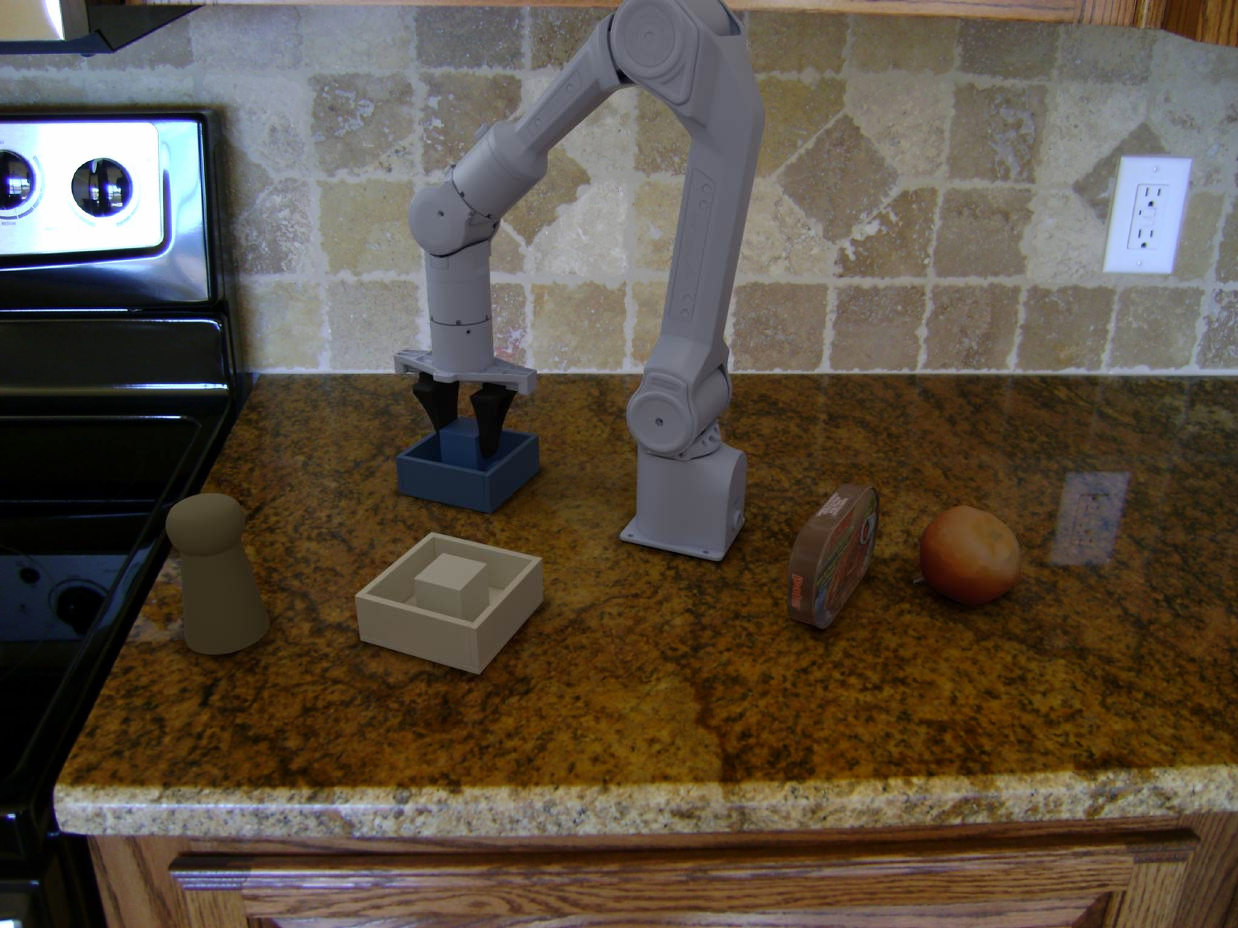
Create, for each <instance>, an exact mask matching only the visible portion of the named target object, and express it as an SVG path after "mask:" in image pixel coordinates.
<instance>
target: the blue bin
mask: <svg viewBox="0 0 1238 928" xmlns="http://www.w3.org/2000/svg"><path fill="white" fill-rule="evenodd" d="M497 456H498V459H497V460H496V461H494V462H493V463H492V464H491V465H489V466H488V467H487V468H486V469H484V470H483V471H477V470H472V469H467V468H463V467H458V466H453V465H448V464H443V463H442V457H441V445H440V442H439V440H438V437H437V434H436V431H435V430H433V431H432V432H430V433H429V434H427V435H426V436H425V437H423V438H421V439H420V440H418V441H417V442H415V443H414V444H412V445H411V446H409V447H408V448H407V449H405V450H404V451H402V452H400V453H399V454H397V455H396V456H395V464H396V474H397V484H398V494H399V495H405V496H409V497H414V498H418V499H423V500H427V501H432V502H436V503H440V504H445V505H450V506H454V507H459V508H464V509H468V510H472V511H476V512H480V513H486V514H490V515H491V514H492V513H493V512H494V511H496V510H497V509H498V508H499V507H500V506H501V505H502V504H503V503H505V502H506V501H507V500H508V499H509V498H510V497H512V496H513V495H514V494H515V493H516V492H517V491H518V490H519V489H520V488H521V487H523V486H524V485H525V484H526V483H527V482H529V480H531V479H532V478H533V477H534V476H535V475H536V474H538V472H540V471H541V466H540V465H541V464H540V463H541V462H540V459H541V458H540V435H539V434H537V433H532V432H526V431H520V430H514V429H510V428H505V427H504V428H503V427H502V431H501V435H500V440H499V446H498V452H497Z"/></svg>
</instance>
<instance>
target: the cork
mask: <svg viewBox="0 0 1238 928" xmlns="http://www.w3.org/2000/svg"><path fill="white" fill-rule="evenodd" d="M245 514H246V513H245V511H244V510H243V508H242V506H241V505H240V502H239V501H237V500H236V499H235V498H234V497H233V496H230V495H228V494H223V493H220V492H219V493H217V492H207V493H200V494H195V495H191V496H189V497H185V498H184V499H182V500H181V501H179V502H176V504H174V505H173V506H172V507H171V508H170V510H169V512H168V514H167V516H166V519H165V531H166V534H167V537H168V539H169V541H170V543H171V545H172V546H173V548H175V549H177V550H178V551H179V563H180V579H181V580H180V581H181V598H182V599H181V600H182V614H183V630H184V631H183V632H184V641H185V644H186V646H187V648H189V649H190V650H192V651H193V652H194V653H198V654H202V655H211V656H212V655H215V656H218V655H219V656H220V655H226V654H232V653H235V652H238V651H242V650H244V649H246V648H248V647H251V646H252V645H253V644H256V643H257V642H259V641H260V640H261V639H262V638H264V636H266V635H267V633H268V631H269V630H270V626H271V619H270V616H269V614H268V613H269V612H268V611H267V608H266V606H265V602H264V599H263V597H262V594H261V591H260V588H259V586H258V583H257V580H256V577H255V574H254V572H253V569H252V566H251V564H250V561H249V558H248V555H247V552H246V549H245V547H244V544H243V540H242V537H243V536H244V534H245V529H246V522H247V521H246V515H245Z"/></svg>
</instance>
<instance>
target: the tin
mask: <svg viewBox="0 0 1238 928" xmlns="http://www.w3.org/2000/svg"><path fill="white" fill-rule="evenodd" d="M880 513H881V501H880V494H879V491H878V489H877V488H876V486H872V485H871V486H866V485H861V484H857V483H848V482H843V483H841V484H840V485H838V486H837V487H835V489H834V490H833V491H832V492H831V494H829V496H828V497H827V498H826V499H825V500H824V501H823V502H822V503H821V505H820V506H819V507H818V508H817V509H816V510H815V512H814V513H813V514H812V515H811V516H810V517H809V518H808V520H806V522H805V523H804V524H803V525H802V527H801V528H800V531H799V532H798V534H797V536H796V539H795V540H794V542H793V546H792V548H791V552H790V555H789V559H788V564H787V572H786V574H787V585H786V586H787V587H786V612H787V614H788V616H789V617H790V618H791V619H793V620H795V621H797V622H799V623H800V622H801V623H804V624H808V625H811V626H814V627H817V628H818V629H821V630H825V629H827V628H828V627H829V626H831V624H832V623H833V622H834V620H835V619H836V617H837V616H838V615H839V613H840V612H841V610H842V609H843V607H844V605H845V604H846V603H847V602H848V600H849V599H850V597H851V596H852V594H854V591H856V589H857V587H858V586H859V584H860V583H861V582H862V580H863V578H864V577H865V575H866V573H867V571H868V569H869V567H870V563H871V560H872V558H873V555H874V551H875V547H876V543H877V537H878V531H879V524H880Z"/></svg>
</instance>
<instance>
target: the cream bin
mask: <svg viewBox="0 0 1238 928" xmlns="http://www.w3.org/2000/svg"><path fill="white" fill-rule="evenodd" d="M442 553H445V554H449V555H453V556H457V557H461V558H465V559H470V560H474V561H478V562H482V563H486V564H487V566H488V583H489V600H490V605H489V606H488V607H487V608H486V609H485V611H484V612H483V613H482V614H481V615H480V616H479V617H478V618H477V619H476V620H475V621H474V622H469V621H466V620H462V619H458V618H455V617H451V616H447V615H443V614H440V613H436V612H432V611H429V610H425V609H421V608H418V607H417V603H416V592H415V582H414V578H415V577H416V576H417V575H419V574H420V573H421V572H422V571H423V570H424V569H425V568H426V567H428V566H429V565H430V564H431V563H432V562H433V561H434V560H436V559H437V558H438V557H439V556H440V555H441V554H442ZM544 598H545V597H544V567H543V557H541V556H535V555H531V554H527V553H523V552H519V551H515V550H510V549H506V548H501V547H497V546H493V545H488V544H484V543H480V542H476V541H472V540H467V539H463V538H459V537H455V536H451V535H446V534H442V533H437V532H434V531H431V532H430V533H428V534H427V535H426V536H425V537H423V538H422V539H421V540H420V541H419V542H418V543H416V544H414V546H413V547H412V548H410V549H409V550H407V551H406V552H405V553H403V555H402V556H400V557H399V558H398V559H397V560H396V561H394V562H392V564H391V565H390V566H389V567H387V568H386V569H385V570H383V571H382V572H381V573H380V574H379V575H377V576H376V577H375V578H374V579H373V580H372V581H370V582H369V583H368V584H367V585H365V587H363V588H362V589H361V590H359V591H358V592H357V593H356V594H355V595H354V602H355V609H356V617H357V625H358V632H359V640H360V641H361V642H365V643H368V644H372V645H375V646H378V647H382V648H386V649H389V650H392V651H396V652H399V653H403V654H406V655H410V656H413V657H416V658H420V659H424V660H427V661H430V662H433V663H437V664H441V665H444V666H448V667H451V668H455V669H457V670H461V671H464V672H468V673H470V674H471V673H472V674H475V675H478V676H479V675H480V674H482V672H483V671H484V670H485V668H486V667H487V666H488V665H489V664H490V663H491V662H492V661H493V660H494V658H495V657H496V656H497V655H498V653H500V652H501V651H502V649H503V648H504V647H505V645H506V644H507V643H508V642H509V641H510V640H511V639H512V638H513V636H515V634H516V633H517V632H518V631H519V629H520V628H521V627H522V626H523V624H524V623H526V621H527V620H528V619H529V618H530V617H531V616H532V615H533V613H534V612H535V611H536V610H537V609H538V608H539V606H540V605H542V603H543V602H544Z"/></svg>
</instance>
